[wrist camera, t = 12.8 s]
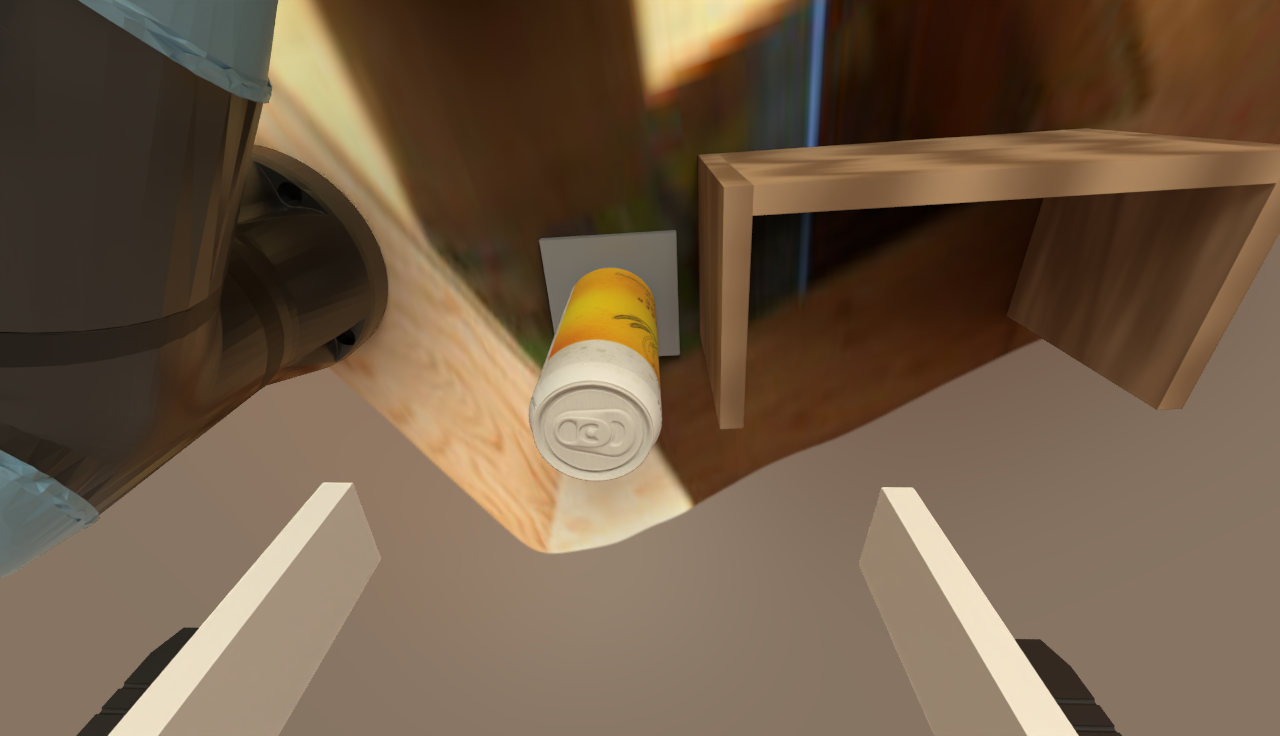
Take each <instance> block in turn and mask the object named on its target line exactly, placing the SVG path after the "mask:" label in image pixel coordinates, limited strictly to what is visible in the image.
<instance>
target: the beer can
mask: <svg viewBox="0 0 1280 736" xmlns="http://www.w3.org/2000/svg"><path fill="white" fill-rule="evenodd" d="M529 423H530V427H531V430H532V432H533V437H534V441H535V444H536V447H537V449H538V451H539V452H540V454H541V455H542V457H543V458H544V459H545V460H546V461H547V462H548V463H549V464H550V465H551V466H552V467H554V468H555V469H556V470H558V471H560V472H562V473H563V474H566V475H568V476H570V477H573V478H577V479H581V480H587V481H606V480H611V479H615V478H619V477H621V476H624V475H626V474H628V473H630V472H632V471H633V470H634V469H636V468H637V467H638V466H639V465H640V464H641V463H642V462H643V461H644V460H645V459H646V457H647V456H648V454H649V452H650V450H651V449H652V447H653V446H654V444H655V443H656V441H657V439H658V437H659V434H660V431H661V426H662V409H661V390H660V372H659V353H658V335H657V316H656V303H655V299H654V296H653V294H652V292H651V290H650V288H649V287H648V286H647V284H646V283H645V282H644V281H643V280H642V279H641V278H639V277H638V276H637V275H635V274H633V273H631V272H629V271H627V270H623V269H619V268H602V269H598V270H594V271H592V272H590V273H588V274H586V275H585V276H583V277H582V278H581V279H580V280H579V281H578V282H577V283H576V284H575V286H574V287H573V289H572V291H571V293H570V295H569V298H568V301H567V303H566V306H565V309H564V312H563V314H562V317H561V320H560V322H559V325H558V328H557V331H556V333H555V336H554V339H553V341H552V344H551V347H550V349H549V352H548V355H547V358H546V360H545V363H544V366H543V368H542V371H541V374H540V377H539V379H538V382H537V385H536V387H535V390H534V393H533V396H532V398H531V401H530V406H529Z"/></svg>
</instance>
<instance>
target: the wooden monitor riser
mask: <svg viewBox="0 0 1280 736" xmlns="http://www.w3.org/2000/svg"><path fill="white" fill-rule="evenodd" d="M1029 198H1043V201H1042V204H1041V207H1040V210H1039V214H1038V217H1037V220H1036V223H1035V226H1034V229H1033V233H1032V236H1031V239H1030V242H1029V245H1028V248H1027V252H1026V255H1025V258H1024V261H1023V264H1022V268H1021V271H1020V274H1019V277H1018V280H1017V283H1016V287H1015V290H1014V293H1013V296H1012V299H1011V302H1010V306H1009V309H1008V312H1007V315H1006V316H1007V317H1009V318H1010V319H1012V320H1013V321H1015V322H1017V323H1018V324H1020V325H1021V326H1023V327H1025V328H1026V329H1028V330H1029V331H1031V332H1033V333H1034V334H1036V335H1038V336H1039V337H1041V338H1042V339H1044V340H1046V341H1047V342H1049V343H1050V344H1052V345H1054V346H1055V347H1057V348H1059V349H1060V350H1062V351H1063V352H1065V353H1066V354H1068V355H1070V356H1071V357H1073V358H1074V359H1076V360H1078V361H1079V362H1081V363H1082V364H1084V365H1086V366H1087V367H1089V368H1091V369H1092V370H1094V371H1095V372H1097V373H1098V374H1100V375H1102V376H1103V377H1105V378H1107V379H1108V380H1110V381H1111V382H1113V383H1115V384H1116V385H1118V386H1120V387H1121V388H1123V389H1124V390H1126V391H1127V392H1129V393H1131V394H1132V395H1134V396H1135V397H1137V398H1139V399H1140V400H1142V401H1144V402H1145V403H1147V404H1148V405H1150V406H1152V407H1153V408H1155V409H1156V410H1168V409H1182V408H1183V406H1184V405H1185V402H1186V401H1187V399H1188V397H1189V396H1190V394H1191V392H1192V390H1193V388H1194V386H1195V385H1196V383H1197V381H1198V379H1199V377H1200V376H1201V374H1202V372H1203V370H1204V368H1205V367H1206V365H1207V363H1208V361H1209V359H1210V358H1211V356H1212V354H1213V352H1214V350H1215V349H1216V347H1217V345H1218V343H1219V341H1220V340H1221V338H1222V336H1223V334H1224V332H1225V331H1226V329H1227V327H1228V325H1229V323H1230V322H1231V320H1232V318H1233V316H1234V314H1235V312H1236V311H1237V309H1238V307H1239V305H1240V303H1241V302H1242V300H1243V298H1244V296H1245V294H1246V293H1247V291H1248V289H1249V287H1250V285H1251V283H1252V282H1253V280H1254V278H1255V276H1256V275H1257V273H1258V271H1259V269H1260V267H1261V266H1262V264H1263V262H1264V260H1265V258H1266V257H1267V255H1268V253H1269V251H1270V249H1271V247H1272V246H1273V244H1274V242H1275V240H1276V239H1277V237H1278V235H1279V233H1280V144H1270V143H1258V142H1245V141H1233V140H1221V139H1208V138H1196V137H1184V136H1172V135H1159V134H1147V133H1135V132H1122V131H1110V130H1098V129H1072V130H1057V131H1042V132H1027V133H1013V134H998V135H983V136H969V137H954V138H939V139H925V140H910V141H895V142H880V143H866V144H851V145H836V146H822V147H807V148H792V149H778V150H763V151H748V152H733V153H719V154H704V155H698V222H699V333H700V338H701V342H702V347H703V352H704V356H705V361H706V366H707V370H708V375H709V380H710V384H711V389H712V394H713V399H714V403H715V408H716V413H717V417H718V422H719V427H720V429H733V428H743V421H744V399H745V376H746V353H747V330H748V307H749V284H750V262H751V239H752V216H756V215H772V214H788V213H804V212H820V211H837V210H853V209H869V208H885V207H901V206H917V205H933V204H949V203H965V202H981V201H997V200H1013V199H1029Z"/></svg>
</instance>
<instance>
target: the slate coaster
mask: <svg viewBox="0 0 1280 736" xmlns="http://www.w3.org/2000/svg"><path fill="white" fill-rule="evenodd" d="M539 242H540V248H541V254H542V261H543V267H544V273H545V279H546V285H547V291H548V297H549V304H550V310H551V316H552V322H553V328H554V334H555V333H556V331H557V328H558V325H559V322H560V320H561V317H562V314H563V312H564V309H565V306H566V303H567V301H568V298H569V295H570V293H571V291H572V289H573V287H574V286H575V284H576V283H577V282H578V281H579V280H580V279H581V278H582V277H583V276H585V275H586V274H588V273H590V272H592V271H594V270H598V269H602V268H619V269H623V270H627V271H629V272H631V273H633V274H635V275H637V276H638V277H639V278H641V279H642V280H643V281H644V282H645V283H646V284H647V286H648V287H649V288H650V290H651V292H652V294H653V296H654V299H655V303H656V316H657V335H658V353H659V356H671V355H680V345H679V311H678V276H677V242H676V230H669V231H653V232H636V233H620V234H604V235H588V236H571V237H555V238H541V239H540V240H539Z"/></svg>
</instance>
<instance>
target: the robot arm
mask: <svg viewBox="0 0 1280 736" xmlns="http://www.w3.org/2000/svg"><path fill="white" fill-rule="evenodd" d="M277 4H278V0H0V578H2V577H5V576H7V575H9V574H12V573H13V572H16V571H17V570H19V569H21V568H22V567H24V566H26V565H27V564H29V563H30V562H32V561H33V560H35V559H36V558H38V557H39V556H41V555H42V554H44V553H45V552H47V551H48V550H50V549H51V548H53V547H55V546H56V545H58V544H59V543H61V542H62V541H64V540H66V539H67V538H69V537H70V536H72V535H73V534H75V533H77V532H78V531H80V530H82V529H85V528H88V527H89V526H91V525H92V524H94V523H95V522H96V521H98V519H100V517H99V515H100V514H101V513H102V512H104V511H105V510H106V509H107V508H109V507H110V506H111V505H113V504H114V503H115V502H117V501H118V500H119V499H120V498H122V497H123V496H124V495H126V494H127V493H128V492H129V491H131V490H132V489H133V488H135V487H136V486H137V485H138V484H139V483H141V482H142V481H143V480H145V479H146V478H147V477H148V476H150V475H151V474H152V473H154V472H155V471H156V470H158V469H159V468H160V467H161V466H163V465H164V464H165V463H166V462H168V461H169V460H170V459H172V458H173V457H174V456H175V455H177V454H178V453H179V452H181V451H182V450H183V449H184V448H186V447H187V446H188V445H190V444H191V443H192V442H193V441H195V440H196V439H197V438H198V437H200V436H201V435H202V434H204V433H205V432H206V431H207V430H209V429H210V428H211V427H213V426H214V425H215V424H216V423H218V422H219V421H220V420H222V419H223V418H224V417H226V416H227V415H228V414H229V413H230V412H232V411H233V410H234V409H236V408H237V407H238V406H240V405H241V404H242V403H243V402H245V401H246V400H247V399H248V398H250V397H251V396H252V395H254V394H255V393H256V392H258V391H259V390H260V389H262V388H263V387H264V386H266V385H269V384H273V383H276V382H280V381H283V380H287V379H290V378H293V377H297V376H301V375H304V374H307V373H310V372H314V371H318V370H321V369H324V368H327V367H329V366H332V365H334V364H336V363H338V362H339V361H341V360H343V359H345V358H346V357H348V356H349V355H350V354H351V353H353V352H354V351H355V350H356V349H357V348H358V347H360V346H361V345H362V344H363V343H364V342H365V341H366V340H367V339H368V338H369V337H370V336H371V335H372V334H373V333H374V331H375V330H376V328H377V327H378V325H379V323H380V321H381V319H382V317H383V314H384V311H385V307H386V302H387V290H388V286H387V275H386V269H385V264H384V261H383V257H382V254H381V251H380V249H379V246H378V244H377V242H376V239H375V237H374V235H373V234H372V232H371V230H370V228H369V227H368V225H367V223H366V222H365V220H364V219H363V217H362V216H361V214H360V213H359V212H358V210H357V209H356V208H355V207H354V205H353V204H352V203H351V202H350V201H349V200H348V199H347V198H346V197H345V195H344V194H343V193H342V192H341V191H340V190H338V189H337V188H336V187H335V186H334V185H333V184H332V183H331V182H329V181H328V180H327V179H326V178H324V177H323V176H322V175H320V174H319V173H318V172H316V171H315V170H313V169H312V168H310V167H309V166H307V165H305V164H303V163H302V162H300V161H298V160H296V159H294V158H292V157H290V156H288V155H286V154H283V153H281V152H278V151H275V150H273V149H270V148H266V147H262V146H258V145H254V140H255V136H256V132H257V128H258V123H259V119H260V115H261V110H262V106H263V103H269V100H270V97H271V91H272V84H271V82H270V80H269V78H268V71H269V64H270V56H271V49H272V41H273V34H274V26H275V18H276V11H277ZM380 560H381V556H380V554H379V551H378V548H377V546H376V543H375V540H374V537H373V535H372V533H371V529H370V527H369V524H368V522H367V519H366V516H365V513H364V511H363V508H362V505H361V502H360V500H359V497H358V494H357V492H356V489H355V487H354V484H353V483H336V482H333V483H332V482H329V483H328V482H323V483H322V484H321V485H320V487H319V488H318V489H317V490H316V492H315V493H314V494H313V495H312V496H311V497H310V498H309V500H308V501H307V502H306V503H305V504H304V505H303V507H302V508H301V509H300V510H299V511H298V512H297V514H296V515H295V516H294V517H293V518H292V520H291V521H290V522H289V523H288V524H287V525H286V527H285V528H284V529H283V530H282V531H281V533H280V534H279V535H278V536H277V537H276V538H275V540H274V541H273V542H272V543H271V544H270V546H269V547H268V548H267V549H266V550H265V551H264V552H263V554H262V555H261V556H260V557H259V559H258V560H257V561H256V562H255V563H254V564H253V565H252V567H251V568H250V569H249V570H248V571H247V572H246V574H245V575H244V576H243V577H242V578H241V580H240V581H239V582H238V583H237V584H236V586H235V587H234V588H233V589H232V590H231V591H230V592H229V594H228V595H227V596H226V597H225V599H224V600H223V601H222V602H221V603H220V604H219V606H218V607H217V608H216V609H215V610H214V611H213V613H212V614H211V615H210V616H209V617H208V618H207V620H206V621H205V622H204V623H203V624H202V625H201V627H200V628H183V629H181V630H180V631H179V632H178V633H176V634H175V635H174V636H172V637H171V638H170V639H169V640H167V641H166V642H164V643H163V644H162V645H161V646H159V647H158V648H157V649H156V650H154V651H153V652H151V653H150V654H149V656H148V657H147V658H146V659H145V660H144V661H143V662H142V663H141V665H140V666H139V667H138V668H137V669H136V670H135V671H134V672H133V673H132V675H131V676H130V677H129V678H128V679H127V680H126V681H125V682H124V687H123V688H122V689H118V690H117V691H116V692H115V694H114V695H113V696H112V697H111V698H110V699H109V700H108V701H107V703H106V704H105V705H104V706H103V707H102V711H101V712H100V713H99V714H96V715H95V716H94V717H93V718H92V719H91V720H90V721H89V722H88V724H87V725H86V726H85V727H84V728H83V729H82V730H81V731H80V732H79V734H78V735H77V736H278V735H279V733H280V732H281V730H282V728H283V727H284V725H285V723H286V721H287V720H288V718H289V716H290V715H291V713H292V711H293V709H294V708H295V706H296V704H297V702H298V701H299V699H300V697H301V696H302V694H303V692H304V690H305V689H306V687H307V685H308V684H309V682H310V680H311V678H312V677H313V675H314V673H315V672H316V670H317V668H318V667H319V665H320V663H321V661H322V660H323V657H324V656H325V654H326V653H327V651H328V649H329V647H330V646H331V644H332V642H333V641H334V639H335V637H336V636H337V634H338V632H339V630H340V628H341V627H342V625H343V624H344V622H345V620H346V619H347V617H348V615H349V613H350V612H351V610H352V608H353V607H354V605H355V603H356V601H357V600H358V598H359V596H360V595H361V593H362V591H363V589H364V588H365V586H366V584H367V583H368V581H369V579H370V577H371V576H372V574H373V572H374V571H375V569H376V567H377V565H378V564H379V562H380ZM859 566H860V569H861V571H862V573H863V576H864V578H865V580H866V582H867V585H868V587H869V589H870V591H871V594H872V596H873V598H874V601H875V603H876V605H877V607H878V610H879V612H880V614H881V616H882V619H883V621H884V623H885V626H886V628H887V630H888V632H889V635H890V637H891V639H892V641H893V644H894V646H895V648H896V650H897V653H898V655H899V657H900V659H901V662H902V664H903V666H904V669H905V671H906V673H907V675H908V678H909V680H910V682H911V684H912V687H913V689H914V691H915V694H916V696H917V698H918V700H919V702H920V705H921V707H922V709H923V712H924V714H925V716H926V718H927V721H928V723H929V725H930V727H931V730H932V732H933V734H934V736H1122V735H1121V734H1120V733H1117V732H1116V731H1115V729H1114V724H1113V723H1112V722H1111V721H1110V719H1109V718H1108V717H1107V715H1106V714H1105V712H1104V711H1103V710H1102V708H1101V707H1100V706H1099V705H1096V703H1095V701H1094V697H1093V696H1092V695H1091V693H1090V692H1089V690H1088V689H1087V688H1086V686H1085V685H1084V684H1083V683H1082V681H1081V680H1080V678H1079V677H1078V675H1077V674H1076V673H1075V672H1074V670H1073V669H1072V668H1071V666H1070V665H1068V664H1067V663H1066V662H1065V661H1064V660H1063V659H1062V658H1060V656H1058V655H1057V654H1056V653H1055V652H1054V651H1053V650H1052V649H1050V648H1049V647H1048V646H1047V645H1046V644H1045V643H1044V642H1043V641H1041V640H1040V639H1038V640H1037V639H1036V640H1035V639H1014V638H1013V637H1012V635H1011V634H1010V632H1009V631H1008V629H1007V628H1006V626H1005V625H1004V623H1003V622H1002V620H1001V619H1000V617H999V616H998V614H997V613H996V611H995V610H994V608H993V607H992V605H991V604H990V602H989V601H988V599H987V598H986V596H985V595H984V593H983V592H982V590H981V589H980V587H979V586H978V584H977V583H976V581H975V580H974V578H973V577H972V575H971V574H970V572H969V571H968V569H967V568H966V566H965V565H964V563H963V562H962V560H961V559H960V557H959V556H958V554H957V553H956V552H955V550H954V548H953V547H952V545H951V544H950V542H949V541H948V539H947V538H946V536H945V535H944V533H943V532H942V530H941V529H940V527H939V526H938V524H937V523H936V521H935V520H934V518H933V517H932V515H931V514H930V512H929V511H928V509H927V508H926V506H925V505H924V503H923V502H922V500H921V499H920V497H919V496H918V494H917V493H916V491H915V490H914V488H892V487H891V488H890V487H882V488H881V492H880V495H879V498H878V502H877V505H876V508H875V511H874V515H873V518H872V522H871V525H870V528H869V532H868V535H867V538H866V542H865V545H864V548H863V552H862V555H861V558H860V562H859Z"/></svg>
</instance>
